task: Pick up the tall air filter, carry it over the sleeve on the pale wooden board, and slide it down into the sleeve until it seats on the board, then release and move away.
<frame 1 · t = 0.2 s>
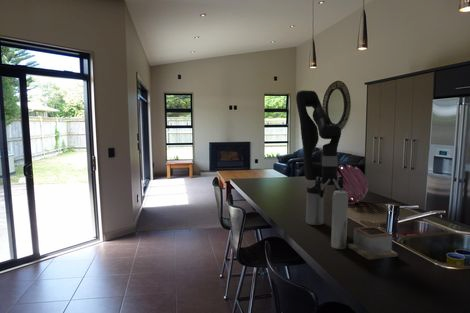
hand: (329, 197, 157), 18 cm above the worktop, tool pointing down, fingers open, 8 cm apart
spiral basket: (348, 203, 217), on the worktop
base board: (371, 251, 134), on the worktop
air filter: (338, 246, 139), on the worktop
sleeve: (372, 239, 133), on the base board, point 5 cm above the worktop
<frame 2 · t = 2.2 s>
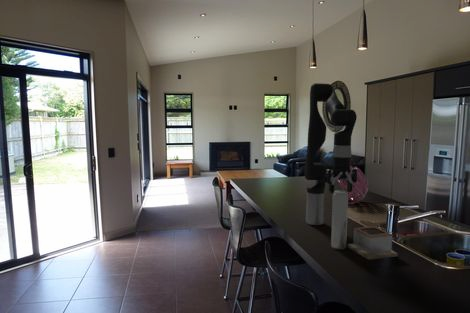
hand: (340, 192, 137), 24 cm above the worktop, tool pointing down, fingers open, 8 cm apart
nothing on the worktop moved.
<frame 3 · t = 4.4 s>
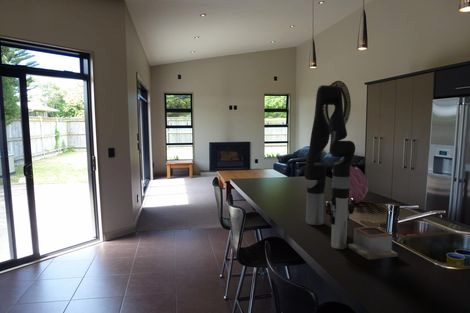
hand: (339, 223, 138), 11 cm above the worktop, tool pointing down, fingers closed on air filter, 5 cm apart
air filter: (338, 246, 139), on the worktop, touching gripper
everything else where it was.
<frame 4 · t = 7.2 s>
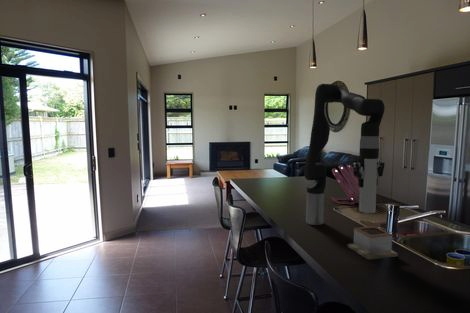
hand: (367, 186, 132), 28 cm above the worktop, tool pointing down, fingers closed on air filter, 5 cm apart
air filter: (366, 211, 133), point 17 cm above the worktop, touching gripper
everything else where it was.
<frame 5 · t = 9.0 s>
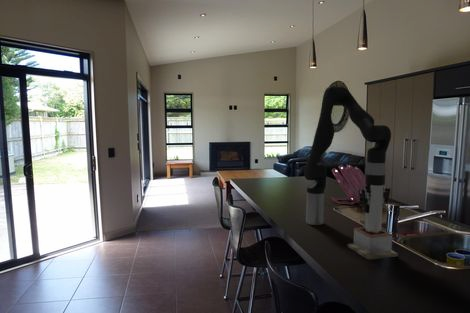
hand: (373, 212, 132), 17 cm above the worktop, tool pointing down, fingers closed on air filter, 5 cm apart
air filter: (372, 236, 133), point 6 cm above the worktop, touching gripper
everything else where it was.
when the fingers open (13 cm above the worktop, at t = 10.4 s): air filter drops 1 cm, resting on base board.
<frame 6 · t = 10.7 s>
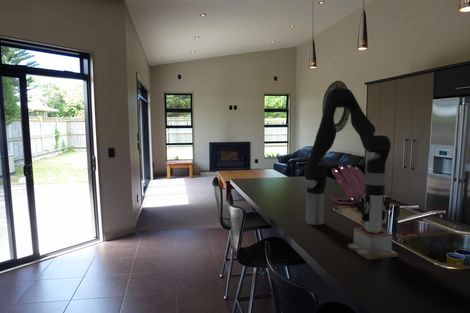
hand: (373, 220, 133), 14 cm above the worktop, tool pointing down, fingers open, 8 cm apart
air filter: (371, 248, 134), point 1 cm above the worktop, touching base board
everything else where it was.
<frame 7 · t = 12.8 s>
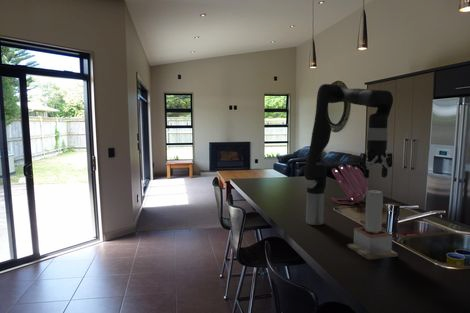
hand: (375, 177, 131), 32 cm above the worktop, tool pointing down, fingers open, 8 cm apart
nothing on the worktop moved.
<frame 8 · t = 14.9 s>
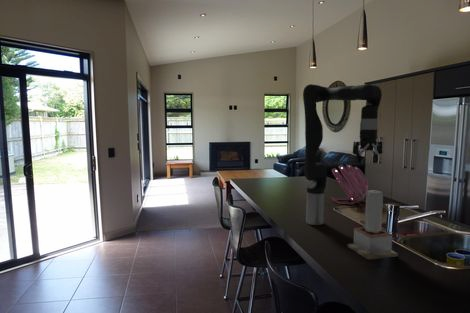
hand: (367, 163, 146), 36 cm above the worktop, tool pointing down, fingers open, 8 cm apart
nothing on the worktop moved.
at the end: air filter 0.1 cm off-centre on the sleeve, point 1.0 cm above the sleeve's base; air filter tilted 0°; the gripper is holding nothing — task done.
